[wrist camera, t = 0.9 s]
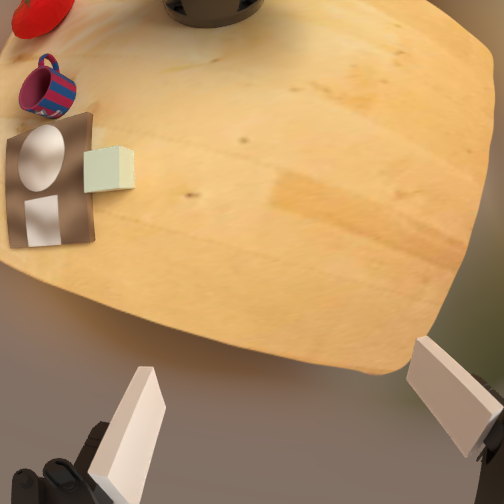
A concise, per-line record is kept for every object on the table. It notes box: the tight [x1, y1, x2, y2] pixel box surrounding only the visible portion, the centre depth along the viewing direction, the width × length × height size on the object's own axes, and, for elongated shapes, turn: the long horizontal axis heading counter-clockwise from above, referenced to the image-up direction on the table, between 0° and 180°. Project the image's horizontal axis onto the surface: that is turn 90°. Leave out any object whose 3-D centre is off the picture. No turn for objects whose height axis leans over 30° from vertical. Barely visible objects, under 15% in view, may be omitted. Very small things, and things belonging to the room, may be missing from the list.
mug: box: [19, 54, 76, 119], centre depth 26 cm, size 7×10×7 cm
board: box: [6, 112, 95, 248], centre depth 32 cm, size 18×18×2 cm
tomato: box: [12, 0, 75, 39], centre depth 21 cm, size 11×13×10 cm
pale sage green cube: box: [84, 145, 135, 193], centre depth 31 cm, size 5×5×5 cm
